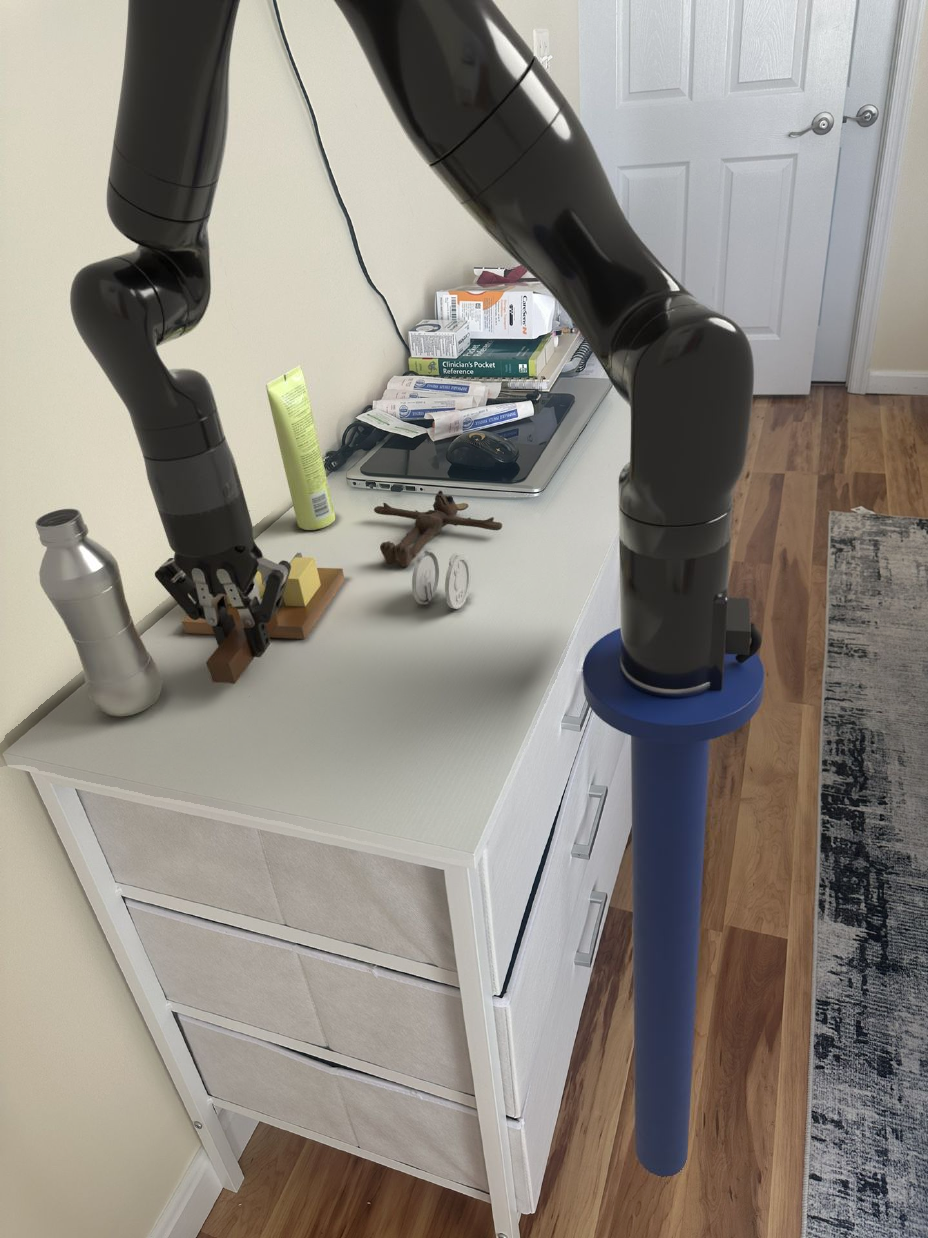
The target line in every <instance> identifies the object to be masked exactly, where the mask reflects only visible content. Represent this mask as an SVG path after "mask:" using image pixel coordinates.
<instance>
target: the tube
mask: <svg viewBox="0 0 928 1238" xmlns="http://www.w3.org/2000/svg"><path fill="white" fill-rule="evenodd" d="M265 388H266V393H267V397H268V398H267V399H268V403H269V407H270V412H271V415H272V420H273V425H274V429H275V433H276V438H277V443H278V447H279V450H280V455H281V459H282V463H283V468H284V472H285V477H286V481H287V485H288V489H289V493H290V497H291V502H292V508H293V511H294V514H295V519H296V523H297V526H298V527H299V528H300V529H302V530H306V531H316V530H320V529H324V528H326V527H328V526H330V525H332V524H333V523H334V522H335V520H336V514H335V509H334V504H333V500H332V495H331V492H330V491H331V490H330V487H329V481H328V477H327V474H326V473H327V472H326V468H325V464H324V459H323V455H322V451H321V446H320V442H319V438H318V433H317V428H316V423H315V419H314V415H313V410H312V407H311V402H310V398H309V393H308V388H307V384H306V380H305V376H304V372H303V369H302V366H301V365H300V364H298V365H297V366H296V367H294V368H292V369H291V370H289V371H287V372H285V373H284V374H282V375H280V376H278V377H276V378H275V379H272V380H271V381H270V382H267V383H266V384H265Z"/></svg>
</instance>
